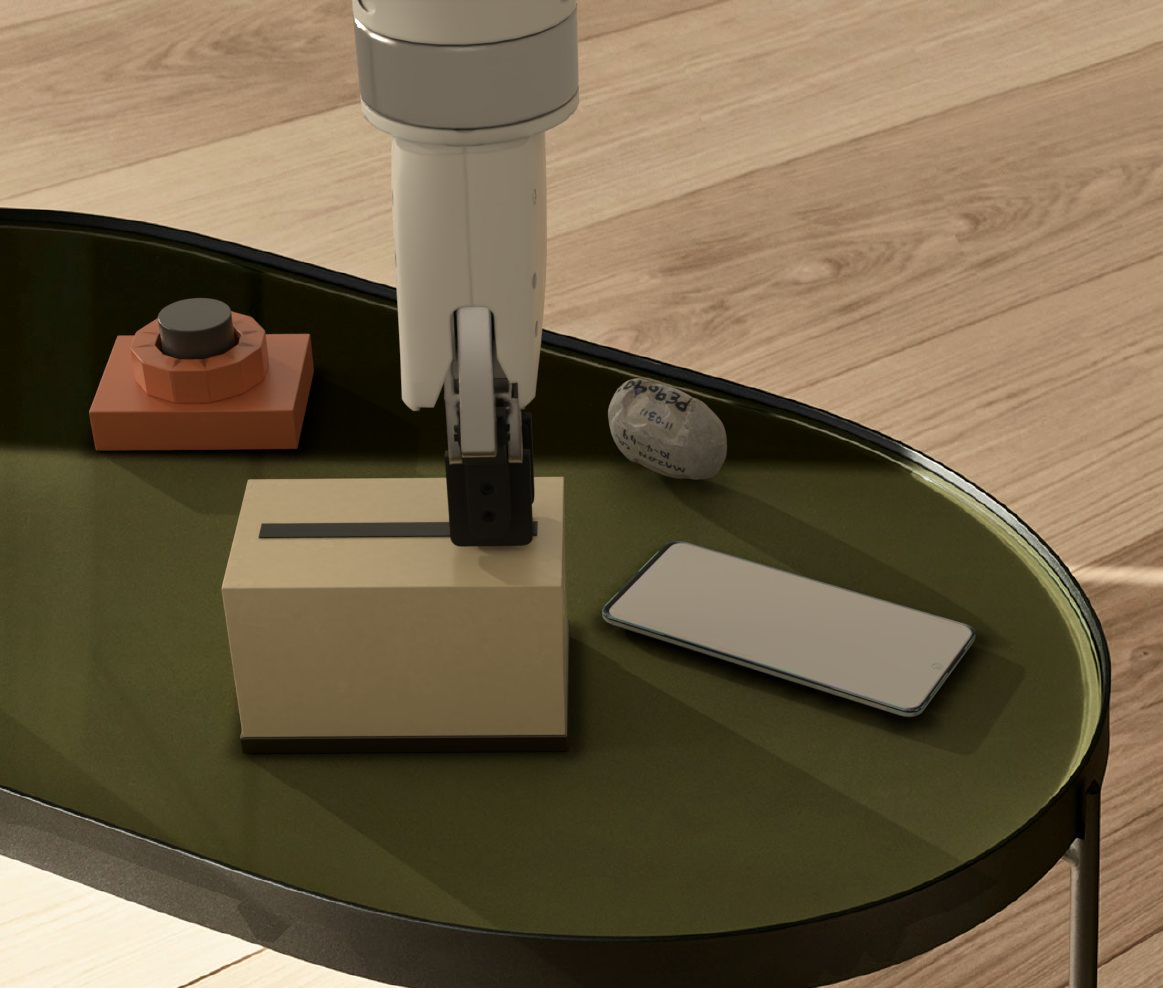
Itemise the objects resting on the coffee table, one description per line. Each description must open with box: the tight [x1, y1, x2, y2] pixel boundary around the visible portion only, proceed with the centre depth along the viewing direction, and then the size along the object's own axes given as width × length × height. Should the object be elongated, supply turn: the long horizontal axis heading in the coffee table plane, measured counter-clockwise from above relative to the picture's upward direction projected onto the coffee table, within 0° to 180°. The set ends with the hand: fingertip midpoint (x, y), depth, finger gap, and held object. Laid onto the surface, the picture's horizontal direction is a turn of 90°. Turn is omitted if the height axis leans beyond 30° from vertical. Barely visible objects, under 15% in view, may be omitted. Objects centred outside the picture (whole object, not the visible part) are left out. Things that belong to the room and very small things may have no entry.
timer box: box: [88, 310, 315, 452], centre depth 106 cm, size 10×8×4 cm
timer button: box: [157, 297, 235, 359], centre depth 104 cm, size 4×4×2 cm
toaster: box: [221, 476, 571, 754], centre depth 86 cm, size 13×8×8 cm, turn 90°
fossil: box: [607, 377, 728, 481], centre depth 100 cm, size 6×3×5 cm, turn 59°
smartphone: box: [601, 540, 977, 718], centre depth 91 cm, size 7×1×15 cm
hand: (493, 520), depth 83 cm, fingers closed
